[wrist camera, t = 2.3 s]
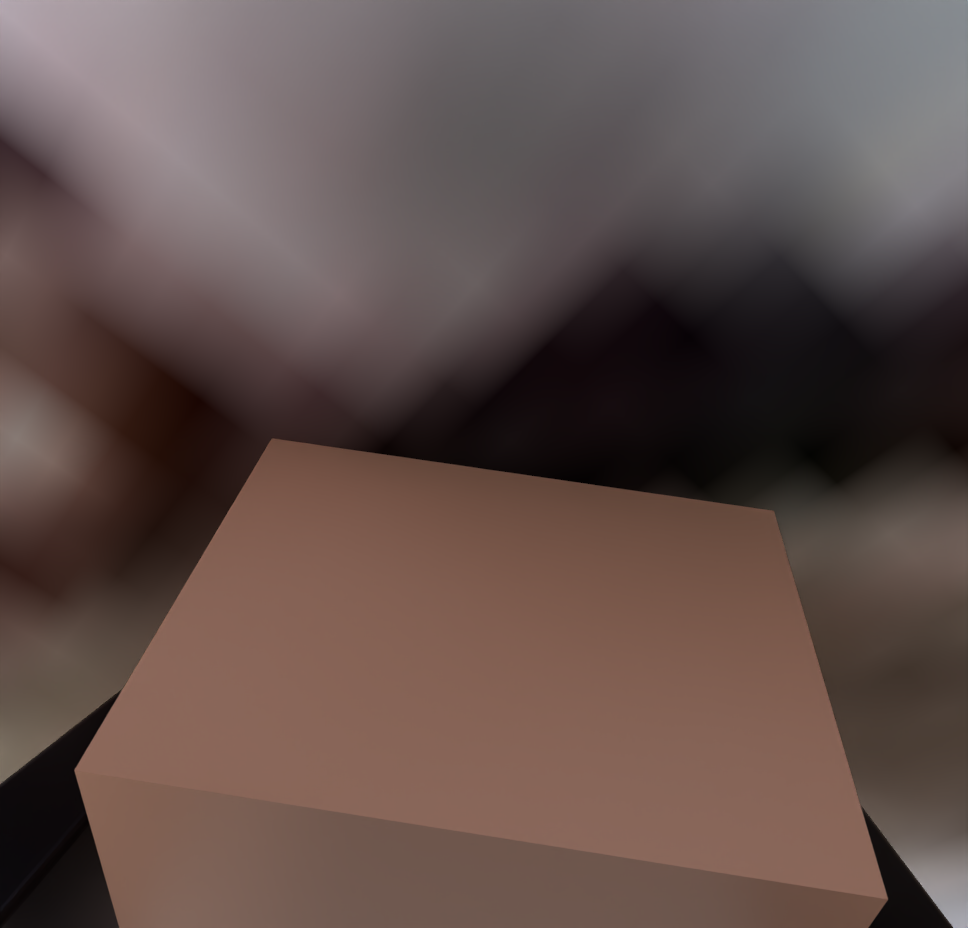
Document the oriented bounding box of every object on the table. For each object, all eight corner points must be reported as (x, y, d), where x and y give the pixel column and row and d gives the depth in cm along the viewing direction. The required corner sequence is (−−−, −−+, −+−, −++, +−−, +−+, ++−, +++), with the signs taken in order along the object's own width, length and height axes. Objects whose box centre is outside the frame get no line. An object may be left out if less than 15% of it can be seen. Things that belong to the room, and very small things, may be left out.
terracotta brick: (771, 503, 8) (888, 898, 5) (661, 802, 11) (689, 1182, 8) (276, 431, 8) (74, 769, 5) (291, 744, 11) (166, 1092, 8)
